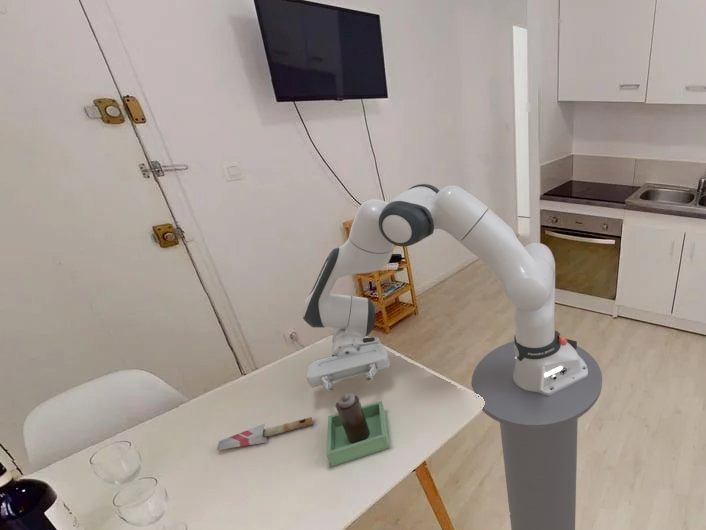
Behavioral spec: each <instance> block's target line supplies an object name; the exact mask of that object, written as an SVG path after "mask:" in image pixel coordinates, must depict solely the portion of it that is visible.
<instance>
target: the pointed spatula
mask: <svg viewBox="0 0 706 530" xmlns="http://www.w3.org/2000/svg"><path fill="white" fill-rule="evenodd" d="M313 423H314V421H313V417H312V416H309V417H306V418H303V419H298V420H295V421H292V422H287V423H283V424H280V425H275V426H272V427H268V428H265V423H263V424H260V425H257V426H254V427H252V428H250V429H247V430H245V431H242V432H239V433H236V434H235V435H234V434H233V435H232V436H229V437H227V438H224V439H221V440H218V442H217V446H216V451H219V450H226V449H231V448H239V447H245V446H252V445H258V444H266V443H267V440H268V437H271V436H274V435H277V434H281V433H285V432H288V431H292V430H296V429H300V428H303V427H308V426H312V425H313Z"/></svg>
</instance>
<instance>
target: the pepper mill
mask: <svg viewBox="0 0 706 530" xmlns="http://www.w3.org/2000/svg"><path fill="white" fill-rule="evenodd" d="M335 409H336V412H337V413H338V414H339V417H340V420H341V422H342V425H343V428H344V430H345V433H346V436H347V438H348V441H349V442H350V443H352V444H354V443H357V442H360V441H363V440H366V439H367V438H368V437H369V435H370V431H369V428H368V425H367V422H366V419H365V416H364V413H363V410H362V403H361V400H360V398H359V396H358V395H355V394H354V393H351V392H347V393H343V394H342V395H340V396H339V397H338V399H337V401H336V403H335Z"/></svg>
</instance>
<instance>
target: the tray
mask: <svg viewBox="0 0 706 530" xmlns="http://www.w3.org/2000/svg"><path fill="white" fill-rule="evenodd" d="M361 407H362V410H363V413H364V416H365V419H366V422H367V425H368V428H369V431H370V435H369V437H368V438H367V439H366V440H363V441H360V442H357V443H354V444H352V443H350V442H349V441H348V438H347V436H346V433H345V430H344V428H343V425H342V422H341V420H340V417H339V414H338V412H337V413H334V414H331V415H328V416H327V434H326V435H327V437H326V438H327V439H326V456H327V459H328V462H329V463H330V466H331V467H335V466H337V465H341V464H344V463H347V462H350V461H354V460H356V459H359V458H362V457H366V456H369V455H371V454H375V453H377V452H380V451H384V450H386V449H390V441H389V432H388V425H387V418H386V417H387V416H386V411H385V408H384V404H383V401H382V400H380V401H377V402H376V401H375V402H372V403H369V404H366V405H361Z"/></svg>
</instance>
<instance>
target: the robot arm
mask: <svg viewBox="0 0 706 530" xmlns="http://www.w3.org/2000/svg"><path fill="white" fill-rule="evenodd" d="M435 230H442V231H445V232H446V233H447V234H449V235H450V236H451V237H453V238H454V239H455V240H456V241H457V242H458V243H460V244H461V245H462V246H464V247H465V249H467V250H468V251H469V252H470V253H471V254H473V255H474V256H475V257H476V258H477V259H479V261H481V262H482V263H483V265H485V266H486V268H488V270H489V271H490V272H491V274H492V275H493V276H494V277H495V279H496V280H497V281H498V283H499V284H500V285H501V287H502V288H503V289H504V291H505V293H506V295H507V298H508V301H509V302H510V304H511V305H512V306H513V308H514V309H513V318H514V319H513V320H514V337H513V341H514V350H515V355H516V363H515V369H514V373H513V380H514V382H515V384H516V385H517V386H519V387H520V388H522V389H524V390H527V391H531V392H539V393H541V394H543V395H546V396H549V395H552V394H554V393H556V392H558V391H560V390H562V389H564V388H566V387H568V386H570V385H572V384H574V383H575V382H577V381H579V380H581V379H583V378H585V377H587V376H588V368H587V366H586V364H585V362H584V361H583V359H582V358H581V357H580V356H579V355H578V354H577V352H576V349H577V346H578V341H577V340H573V339H568V338H565V336H561V333H560V332H559V331H558V330H556V329H555V328H556V327H555V325H556V324H555V321H556V320H555V303H556V260H555V257H554V254H553V252H552V250H551V249H550V248H549V246H547V245H546V244H544V243H541V242H531V243H528V244H526V245H525V246H524V245H523V244H522V242H521V241H520V240H519V239H518V237H517V235H516V233H515V230H514V229H513V228H512V227H511V226H510V225H509V224H507V223H506V222H505V221H504V220H503V219H502V218H501V217H500V216H499V215H497V214H496V213H495V212H494V211H493V210H492V209H491V208H490V207H488V206H487V205H486V204H485V203H483V201H481V200H480V199H478V198H477V197H476V196H474V195H473V194H471V193H470V192H468V191H467V190H465V189H464V188H461V187H460V186H458V185H454V184H451V185H447V186H444V187H443V188H441V189H439V188H438V187H436V186H434V185H432V184H428V183H421V184H420V183H419V184H416V185H413V186H411V187H410V188H407V190H405V191H403V192H400V193H399V194H398V195H397V196H395V197H394V198H393V199H392V200H391V201H390V202H388V201H385V200H382V199H376V198H375V199H373V198H372V199H368V200H366V201H364V202H362V203H361V204H360V205H359V208H358V210H357V211H356V214H355V216H354V218H353V221H352V224H351V227H350V231H349V234H348V239H347V240H346V241H345V242H344V243H343V244H341V246H339V247H336V248H333V249H332V250H331V251H330V252H329V254H328V255H327V257H326V259H325V261H324V264H323V265H322V268H321V270H320V271H319V273H318V276H317V278H316V280H315V283H314V285H313V287H312V289H311V291H310V292H309V295H308V296H307V298H306V299H305V300H304V303H303V305H302V319H303V321H304V322H306V324H307V325H309V326H310V327H311V328H315V329H316V328H318V329H319V328H320V329H321V328H322V329H323V328H331V329H333V332H332V340H331V341H332V345H331V356H329V357H325V358H321V359H317V360H314V361H313V362H311V363H310V364H309V365H308V366H307V371H306V376H305V378H306V381H307V384H308V386H309V387H311V388H317V387H320V386H323V387H324V388H325V389H326V392H327V393H330V392H333V391H335V385H334V383H336V382H339V381H344V380H347V379H351V378H355V377H358V376H363V375H365V379H366V381H367V382H370V381H373V380H374V376H375V375H376V374H377V373H378V371H381V370H387V369H389V367H390V366H391V361H390V358H389V355H388V351H387V349H386V347H385V345H383V344H382V341H381V340H380V338H379V337H378V336H377V337H376V336H374V337H368V336H369V335H371V333H372V332H373V330H374V327H375V323H376V307H375V305H374V303H373V301H371V299H369V298H367V297H364V296H363V297H362V296H356V295H355V296H354V295H345V294H337V293H331V292H332V290H333V288H334V286H335V283H336V282H337V281H338V280H339V279H341V278H343V277H347V276H352V275H360V274H371V273H375V272H377V271H380V270H381V269H383V268H385V267H386V266H387V265H388V263H389V262H390V260H391V258H392V256H393V252H394V249H395V246H396V247H403V248H405V247H409V246H413V245H415V244H418V243H419V242H421V241H423V240H424V239H426V238H428V237H430V236H432V235H433V234H434V231H435Z"/></svg>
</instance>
